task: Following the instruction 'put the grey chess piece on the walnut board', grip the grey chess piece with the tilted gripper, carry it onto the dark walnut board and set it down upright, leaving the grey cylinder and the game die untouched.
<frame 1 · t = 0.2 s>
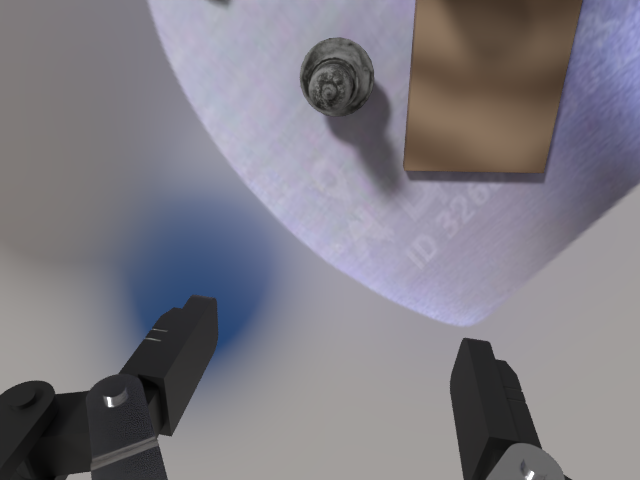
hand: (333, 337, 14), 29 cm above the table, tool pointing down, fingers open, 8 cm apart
grey chess piece: (339, 73, 37), on the table
walnut board: (482, 73, 36), on the table
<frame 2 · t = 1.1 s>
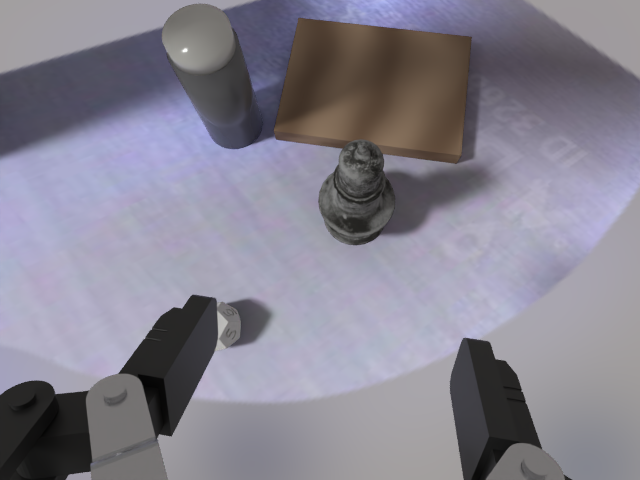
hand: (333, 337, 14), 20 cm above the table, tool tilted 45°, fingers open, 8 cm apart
game die: (223, 328, 35), on the table
grey chess piece: (354, 215, 37), on the table
grey cylinder: (235, 124, 39), on the table
walnut board: (373, 92, 40), on the table
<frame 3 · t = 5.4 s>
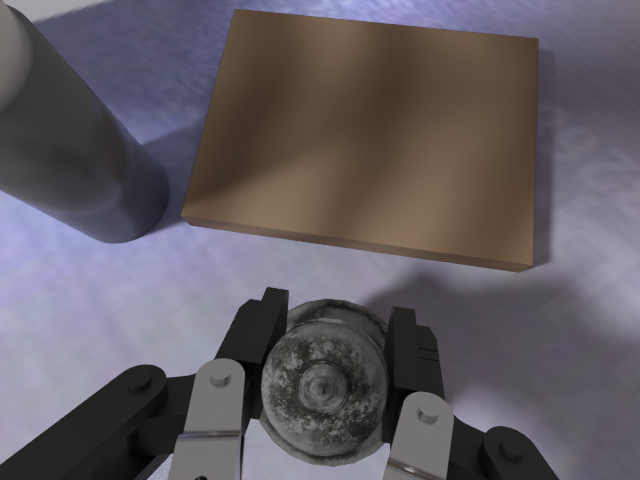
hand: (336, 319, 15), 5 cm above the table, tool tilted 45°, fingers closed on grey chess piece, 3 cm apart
grey chess piece: (330, 376, 20), on the table, touching gripper
grey cylinder: (121, 196, 22), on the table
walnut board: (365, 138, 23), on the table
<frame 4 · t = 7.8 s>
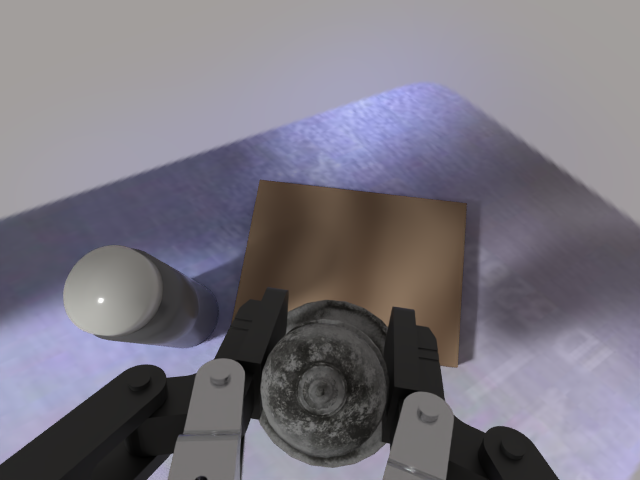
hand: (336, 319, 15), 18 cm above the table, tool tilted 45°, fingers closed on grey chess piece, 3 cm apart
grey chess piece: (331, 377, 20), point 12 cm above the table, touching gripper
grey cylinder: (186, 314, 33), on the table
walnut board: (351, 270, 33), on the table
when the fingers open (8 cm above the table, at t = 10.5 s): grey chess piece drops 1 cm, resting on walnut board.
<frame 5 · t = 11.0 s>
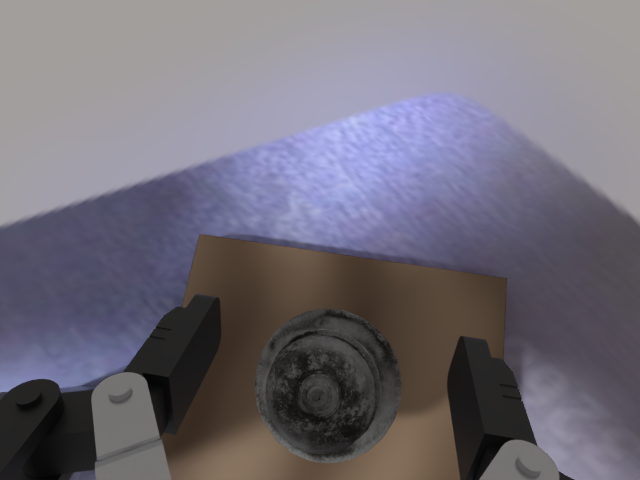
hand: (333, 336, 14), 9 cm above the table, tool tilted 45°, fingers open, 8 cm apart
grey chess piece: (329, 379, 21), point 1 cm above the table, touching walnut board
grey cylinder: (82, 437, 22), on the table
walnut board: (331, 374, 22), on the table
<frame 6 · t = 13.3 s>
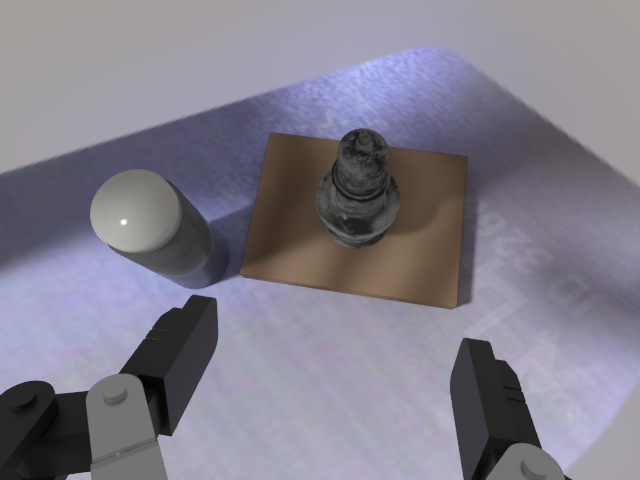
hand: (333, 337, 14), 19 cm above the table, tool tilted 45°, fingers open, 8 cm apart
grey chess piece: (355, 216, 33), point 1 cm above the table, touching walnut board
grey cylinder: (197, 257, 34), on the table
walnut board: (356, 219, 35), on the table
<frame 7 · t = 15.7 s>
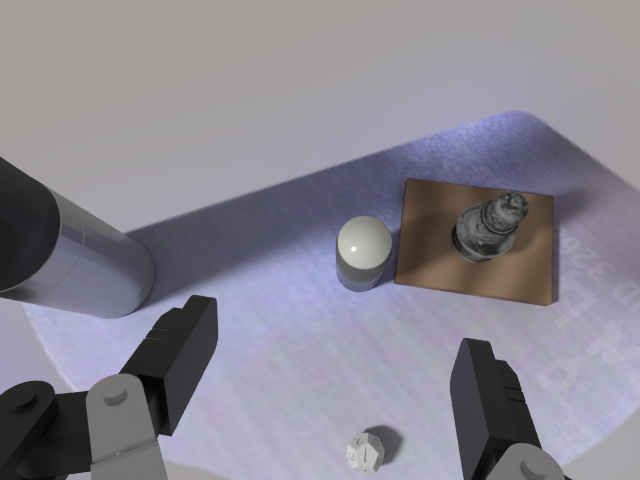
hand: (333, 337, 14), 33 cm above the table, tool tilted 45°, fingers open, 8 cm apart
game die: (364, 449, 43), on the table
grey chess piece: (474, 240, 47), point 1 cm above the table, touching walnut board
grey cylinder: (358, 269, 48), on the table
walnut board: (471, 241, 48), on the table
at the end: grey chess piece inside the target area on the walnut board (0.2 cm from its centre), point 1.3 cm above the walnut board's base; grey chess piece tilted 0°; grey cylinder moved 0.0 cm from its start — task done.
